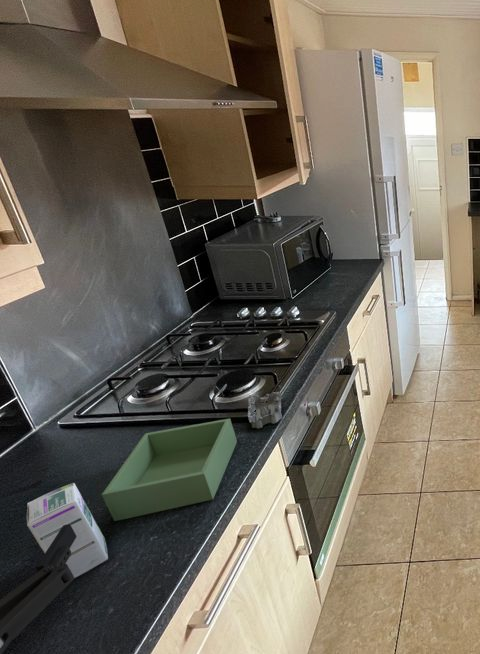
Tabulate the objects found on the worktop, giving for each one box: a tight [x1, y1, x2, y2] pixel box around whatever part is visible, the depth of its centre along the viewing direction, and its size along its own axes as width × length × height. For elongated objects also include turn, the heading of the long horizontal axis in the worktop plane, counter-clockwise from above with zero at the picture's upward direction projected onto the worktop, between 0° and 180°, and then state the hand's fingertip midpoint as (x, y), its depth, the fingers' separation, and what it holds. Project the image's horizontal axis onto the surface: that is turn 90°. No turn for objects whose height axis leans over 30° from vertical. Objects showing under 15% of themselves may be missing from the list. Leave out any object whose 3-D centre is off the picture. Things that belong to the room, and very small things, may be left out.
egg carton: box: [247, 391, 283, 429], centre depth 108 cm, size 11×8×4 cm
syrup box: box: [26, 482, 109, 579], centre depth 70 cm, size 6×6×14 cm
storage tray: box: [101, 418, 238, 522], centre depth 89 cm, size 17×17×7 cm
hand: (8, 547), depth 59 cm, fingers open, 13 cm apart
